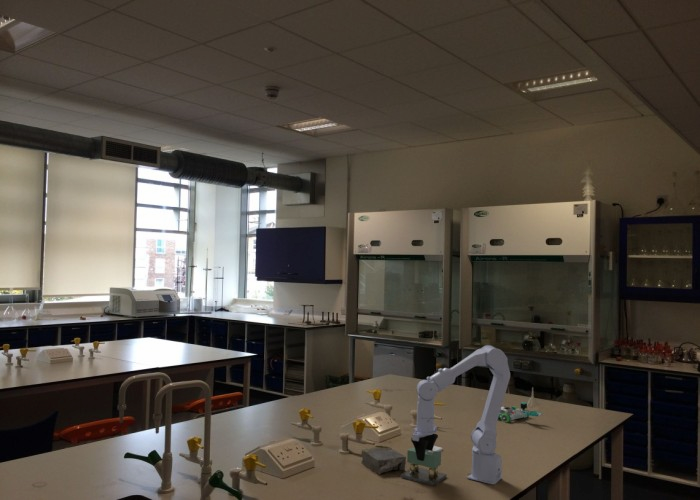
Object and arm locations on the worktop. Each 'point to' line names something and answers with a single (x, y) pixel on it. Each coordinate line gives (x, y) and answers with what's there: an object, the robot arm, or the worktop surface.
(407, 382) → the worktop surface
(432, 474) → the plate
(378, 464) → the geological specimen
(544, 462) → the worktop surface
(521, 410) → the robot kit
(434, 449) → the external hard drive
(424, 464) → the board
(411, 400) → the worktop surface
